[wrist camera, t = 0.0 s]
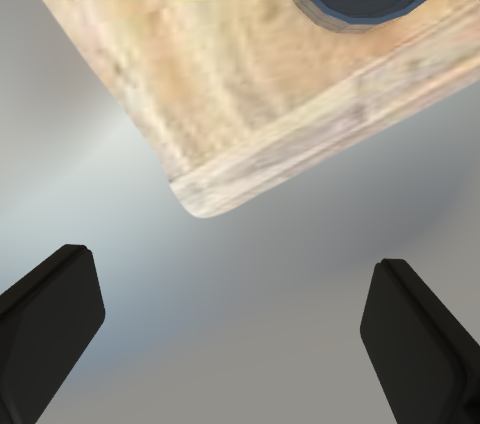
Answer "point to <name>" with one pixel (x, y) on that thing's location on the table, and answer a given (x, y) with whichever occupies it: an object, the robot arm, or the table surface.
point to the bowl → (356, 13)
